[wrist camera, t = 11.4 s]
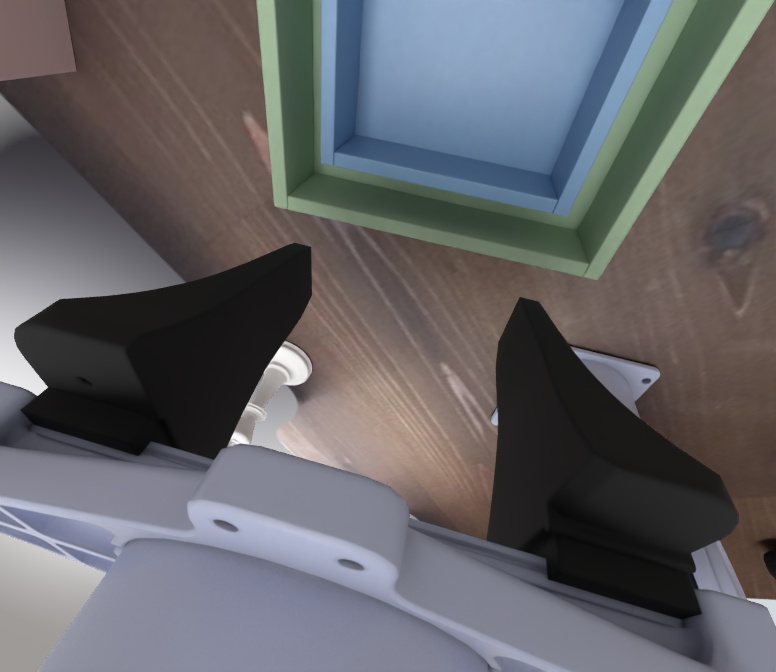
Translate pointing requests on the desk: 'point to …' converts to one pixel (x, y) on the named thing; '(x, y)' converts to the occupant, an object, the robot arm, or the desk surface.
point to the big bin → (490, 218)
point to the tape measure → (771, 562)
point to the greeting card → (34, 39)
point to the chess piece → (272, 388)
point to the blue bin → (480, 91)
